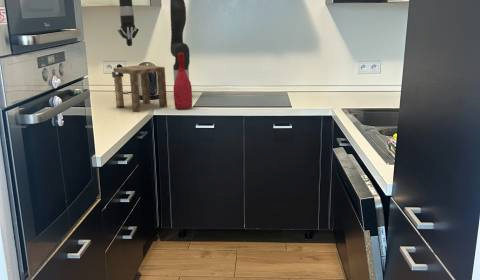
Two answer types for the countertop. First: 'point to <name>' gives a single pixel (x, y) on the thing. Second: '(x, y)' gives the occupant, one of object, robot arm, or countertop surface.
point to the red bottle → (182, 87)
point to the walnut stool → (144, 83)
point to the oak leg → (119, 91)
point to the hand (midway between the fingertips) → (129, 45)
